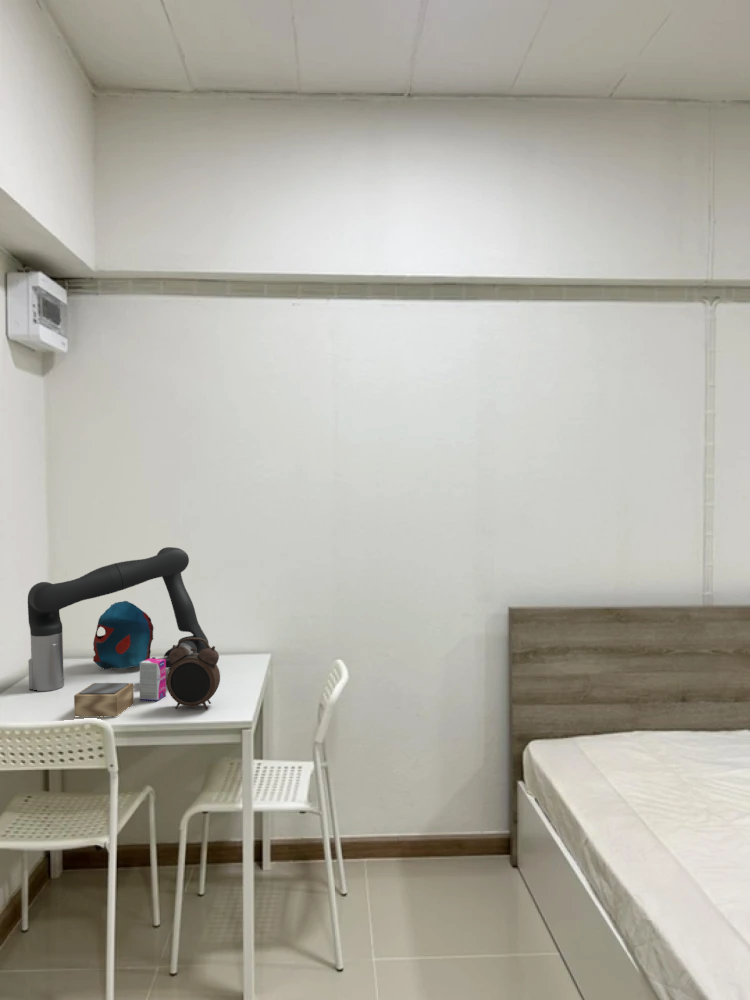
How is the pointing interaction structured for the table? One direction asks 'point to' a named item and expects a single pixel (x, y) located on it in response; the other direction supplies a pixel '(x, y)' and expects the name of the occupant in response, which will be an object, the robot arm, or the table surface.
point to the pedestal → (104, 699)
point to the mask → (123, 637)
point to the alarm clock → (193, 674)
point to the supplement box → (152, 679)
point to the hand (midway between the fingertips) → (162, 669)
